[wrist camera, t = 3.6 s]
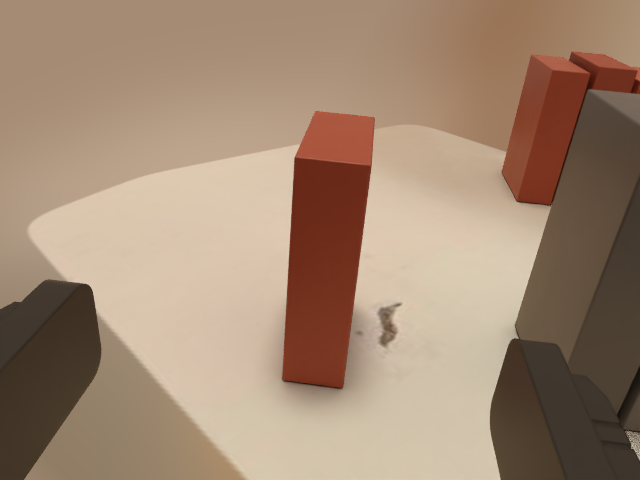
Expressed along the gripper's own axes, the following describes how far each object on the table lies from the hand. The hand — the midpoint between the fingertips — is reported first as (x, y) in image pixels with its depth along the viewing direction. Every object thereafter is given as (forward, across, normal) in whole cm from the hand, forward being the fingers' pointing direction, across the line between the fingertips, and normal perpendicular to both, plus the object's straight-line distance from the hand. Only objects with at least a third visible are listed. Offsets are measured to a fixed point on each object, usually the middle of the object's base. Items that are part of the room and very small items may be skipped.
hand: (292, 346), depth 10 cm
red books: (+35, -18, +9) cm, 40 cm away
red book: (+12, 0, +9) cm, 15 cm away
